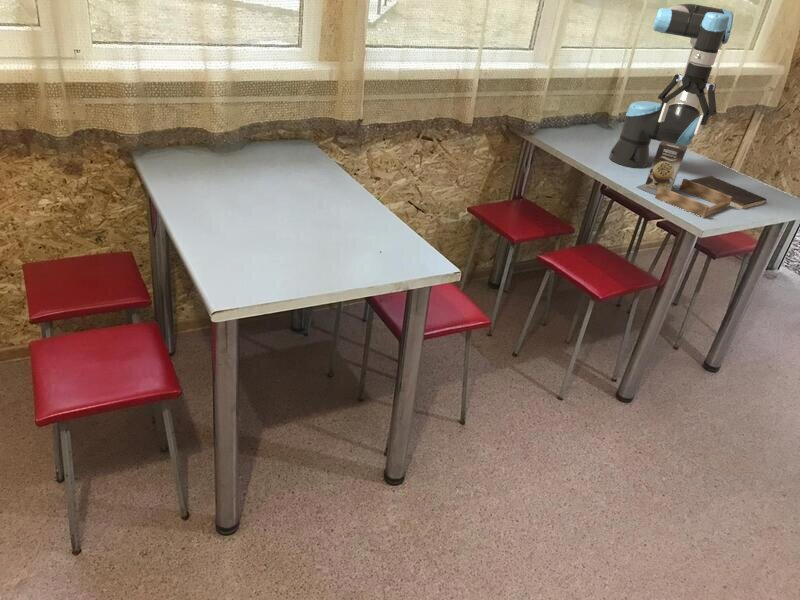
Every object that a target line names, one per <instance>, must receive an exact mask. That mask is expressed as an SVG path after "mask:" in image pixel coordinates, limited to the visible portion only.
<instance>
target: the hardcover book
mask: <svg viewBox="0 0 800 600" xmlns="http://www.w3.org/2000/svg"><path fill="white" fill-rule="evenodd" d="M689 180H690V181H693V182H695V183H698V184H701V185H703V186H706V187H708V188H711V189H714V190H716V191H719V192H721V193H724V194H726V195H729V196H732V199H731V202H730V204H729V205H732V206H734V207H736V208H739V209H741V210H743V209H746V208H751V207H755V206H757V205H762V204H766V203H767V198H766V197H764V196H761V195H758V194H756V193H753V192H751V191H749V190H747V189H744V188H742V187H740V186H737V185H734V184H732V183H730V182H727V181H726V180H723V179H720V178H717V177H715V176H713V175H708V176H703V177H698V178H697V177H696V178H694V179H689Z"/></svg>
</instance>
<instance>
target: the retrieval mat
mask: <svg viewBox="0 0 800 600" xmlns="http://www.w3.org/2000/svg"><path fill="white" fill-rule="evenodd" d="M645 184H646V183H644V184H640V185H638V186H636V187H635V188H636V189H639V190H641V191H643V192H646V193H648V192H649V193H648V194H650V195H653V194H654V195H653V196H655V195H656V194H657V191H658V190H655V189H651V188H648V187H645ZM678 190H679V188H677V187H675V186H673V187H672V190H671V191H673V192H676V191H678Z"/></svg>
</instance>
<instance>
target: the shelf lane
mask: <svg viewBox="0 0 800 600" xmlns="http://www.w3.org/2000/svg"><path fill="white" fill-rule="evenodd" d="M690 180H691V179H688V178H683V179H682V181H681V184H680V187H679V188H678V190H679V191H683V192H685V193H687V194H690V195H692V196H694V195H695V197H698V198H699V197H700V199H702V200H705V201H707V202H709V201H710V203H712V204H714V205H712V206H709V205H708V204H705V203H702V202H700V201H697V200H695V199H692V198H690V197H687V196H685V195H682V194H680V193H678V192H676V191H674V192H673V191H670V190H668V189H665V188H663V187H659V188H658V191H657V194H656V196H654V198H655V199H657V200H659V201H660V202H661V201H662V202H663V201H664V203H666V202H667V203H666V204H668V203H669V204H668V205H670V204H672V205H671V206H673V205H674V206H673V207H675V206H677V207H679V208H678V209H680V208H681V209H680V210H682V209H684V210H683V211H685V210H686V211H685V212H687V211H689V212H691V213H690V214H692V213H694V214H697V215H699V216H701V217H704V218H706V216H707V217H709V216H711V215H714V214H715V213H719V212H720V211H723V210H725V209H727V208H729V206H730V205H731V204H730V202H731V199H732V196H729V195H726V194H724V193H721V192H719V191H716V190H714V189H711V188H708V187H706V186H703V185H701V184H698V183H695V182H693V181H690ZM677 207H676V208H677ZM689 212H688V213H689ZM713 213H714V214H713ZM694 214H693V215H694ZM697 215H696V216H697ZM708 215H709V216H708ZM699 216H698V217H699ZM701 217H700V218H701Z"/></svg>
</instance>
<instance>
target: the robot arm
mask: <svg viewBox="0 0 800 600" xmlns="http://www.w3.org/2000/svg"><path fill="white" fill-rule="evenodd" d="M733 23H734V13H733V11H732V10H729V9H724V8H723V7H721V8H718V7H712V6H706V5H700V4H695V3H683V4H682V3H680V4H676V5H672V6H670V7H669V8H667V7H666V8H665V7H664V8H663V7H661V8H659V9H658V11H657V14H656V16H655V20H654V23H653V27H652V29H653V31H654V32H657V33H661V34H666V35H672V36H679V37H684V38H690V40H689V43H690V45H691V50H690V54H689V56H688V59H687V62H686V65H685V69H684V71H683V73H682V74H681V73H677V74H674V76H673V78H672V80H671V82H669V84H668V85H667V86H666V87H665V88H664V90H662V92H661V93H660V94H658V96H657V99H659V100H660V101H661V103H659V102H657V101H656V102H655V101H649V100H648V101H647V100H646V101H645V100H643V101H642V100H640V101H633V102H632V103H631V104H629V106H628V109H627V111H626V113H625V119H624V122H623V126H622V128H621V132H620V135H619V138H618V139H617V141H616V143H615V144H614V146H613V147H612V149H611V150H610V152H609V156H608V159H609V160H610V161H612V162H614V163H616V164H619V165H621V166H624V167H627V168H629V167H630V168H636V169H642V168H643V169H644V168H647V167H648V165H649V161H650V144H651V141H658V142H661V141H662V140H663V141H667V142H670V143H674V144H678V145H682V146H686V147H688V146H690V145H691V143H692V141H693V138H694V137H695V135H699V134H700V133H701V131H702V129H703V126H705V125H707V123H708V120H709V117H710V116H712V117H713V116H715V115H717V104H716V93H715V92H716V87H717V85H716V83H708V80H709V77H710V75H711V73H712V70H713V67H712V66H713V65H714V64H715V61H716V58H717V55H718V52H719V49H721V48H722V47H723V45H726V44H727V43H728V42H729V39H730V35H731V31H732V29H733ZM679 82H680V83H679ZM678 83H679V86H678V87H677V89H675V90H673V89H674V88H675V87H676V86H677V84H678ZM704 89H706V90H707V98H706V96H705V95H706V93H705V90H704ZM672 90H673V91H672ZM671 91H672V92H671ZM670 92H671V93H670ZM669 93H670V94H669ZM674 98H675V99H674ZM672 99H674V101H673V102H672V103H671V102H670V101H671V100H672ZM707 101H708V102H707ZM670 103H671V104H670ZM699 104H700V107H701V111H702V114H701V111H700V109H699V108H698V106H699Z"/></svg>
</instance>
